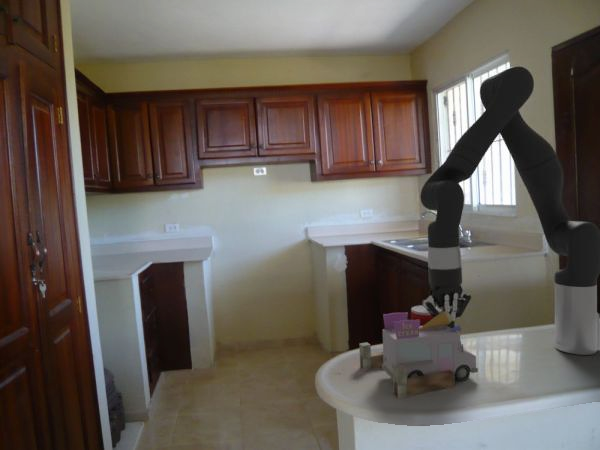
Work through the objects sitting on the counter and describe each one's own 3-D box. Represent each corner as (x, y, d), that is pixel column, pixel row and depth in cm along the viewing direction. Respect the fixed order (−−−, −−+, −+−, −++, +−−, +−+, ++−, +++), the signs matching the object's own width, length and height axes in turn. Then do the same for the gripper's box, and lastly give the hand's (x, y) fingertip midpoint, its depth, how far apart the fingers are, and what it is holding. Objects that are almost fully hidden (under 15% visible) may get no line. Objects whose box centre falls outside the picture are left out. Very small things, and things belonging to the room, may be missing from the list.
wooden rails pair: (410, 358, 112) (409, 335, 111) (455, 386, 95) (455, 359, 94) (360, 367, 107) (359, 343, 107) (398, 398, 90) (397, 369, 90)
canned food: (428, 356, 113) (427, 314, 112) (405, 347, 120) (404, 308, 119) (448, 349, 117) (447, 309, 116) (425, 342, 124) (424, 303, 123)
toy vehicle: (480, 381, 97) (478, 314, 96) (396, 391, 93) (394, 322, 92) (458, 366, 106) (456, 305, 105) (380, 374, 102) (379, 311, 102)
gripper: (457, 259, 110) (460, 326, 111) (411, 265, 106) (415, 335, 107) (478, 263, 102) (481, 335, 104) (430, 270, 98) (434, 345, 100)
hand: (448, 335), depth 105 cm, fingers closed
